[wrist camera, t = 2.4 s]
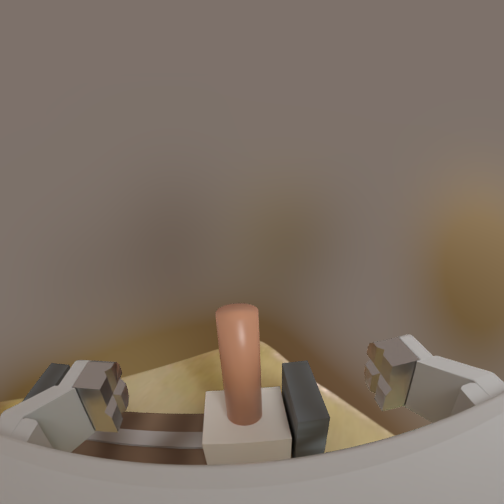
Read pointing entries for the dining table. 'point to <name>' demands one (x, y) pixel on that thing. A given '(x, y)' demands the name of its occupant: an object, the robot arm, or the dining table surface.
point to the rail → (200, 424)
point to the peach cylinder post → (243, 398)
